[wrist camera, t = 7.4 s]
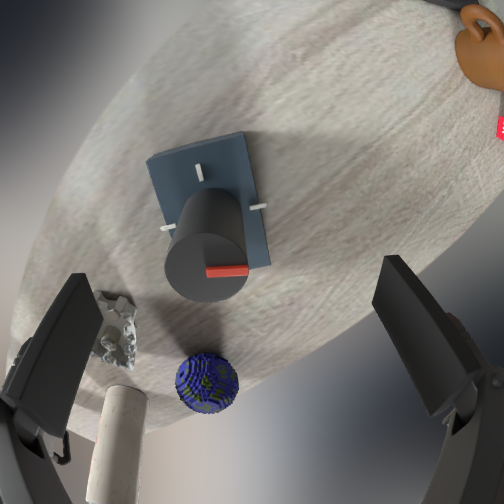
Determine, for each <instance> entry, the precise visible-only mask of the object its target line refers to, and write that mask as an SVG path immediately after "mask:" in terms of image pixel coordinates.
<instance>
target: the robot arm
mask: <svg viewBox="0 0 504 504" xmlns="http://www.w3.org/2000/svg"><path fill="white" fill-rule="evenodd" d="M372 305H373V307H374V309H375V311H376V312H377V314H378V316H379V318H380V319H381V321H382V323H383V325H384V327H385V329H386V330H387V332H388V334H389V336H390V338H391V340H392V342H393V344H394V345H395V347H396V349H397V351H398V353H399V355H400V357H401V359H402V361H403V363H404V365H405V367H406V368H407V371H408V373H409V375H410V377H411V379H412V381H413V383H414V385H415V387H416V389H417V392H418V394H419V396H420V398H421V400H422V402H423V405H424V407H425V409H426V411H427V414H428V416H429V418H430V417H433V416H435V415H437V414H440V413H442V412H444V411H445V410H446V409H447V408H448V407H449V406H450V405H451V404H452V403H453V405H454V407H455V408H454V409H453V410H452V411H451V412H450V414H448V416H446V417H445V418H444V420H443V422H442V424H445V423H446V422H447V420H449V419H450V421H449V423H448V424H447V425H448V429H447V433H446V437H445V440H444V444H443V447H442V450H441V453H440V457H439V460H438V463H437V466H436V469H435V471H434V474H433V477H432V480H431V482H430V485H429V487H428V490H427V492H426V494H425V497H424V499H423V501H422V504H504V369H503V368H501V367H500V366H492V367H491V365H490V364H489V363H488V361H487V360H486V358H485V356H484V355H483V354H482V352H481V350H480V349H479V347H478V346H477V345H476V343H475V341H474V340H473V339H472V338H471V336H470V334H469V333H468V332H467V331H466V329H465V327H464V326H463V325H462V323H461V322H460V320H458V319H457V318H456V317H455V316H454V315H452V314H451V313H445V312H444V311H443V309H442V308H441V307H440V305H439V304H438V303H437V301H436V300H435V299H434V297H433V296H432V295H431V294H430V292H429V291H428V290H427V288H426V287H425V286H424V285H423V284H422V282H421V281H420V280H419V279H418V277H417V276H416V275H415V274H414V273H413V271H412V270H411V269H410V268H409V267H408V265H407V264H406V263H405V262H404V261H403V260H402V258H401V257H400V256H399V255H388V256H384V260H383V264H382V268H381V272H380V275H379V279H378V283H377V286H376V290H375V293H374V297H373V300H372ZM103 321H104V318H103V315H102V313H101V311H100V309H99V306H98V304H97V302H96V299H95V297H94V294H93V292H92V290H91V287H90V284H89V282H88V279H87V277H86V274H85V273H73V274H71V276H70V277H69V279H68V280H67V282H66V283H65V285H64V286H63V288H62V289H61V291H60V292H59V294H58V295H57V297H56V298H55V300H54V302H53V303H52V305H51V306H50V308H49V310H48V311H47V313H46V315H45V316H44V318H43V320H42V321H41V323H40V325H39V327H38V328H37V330H36V332H35V334H34V336H33V337H30V338H29V339H28V340H27V341H26V342H25V343H24V344H23V345H22V347H21V349H20V351H19V353H18V355H17V358H15V360H14V362H13V366H11V368H10V371H9V373H8V375H7V377H6V379H5V381H4V383H3V386H2V388H1V390H0V504H72V502H71V500H70V498H69V496H68V494H67V493H66V491H65V489H64V487H63V485H62V483H61V481H60V479H59V476H58V474H57V472H56V470H55V468H54V465H53V463H52V461H51V458H50V456H49V453H48V451H47V448H46V446H45V443H44V441H43V438H42V436H41V435H40V433H38V432H39V428H41V429H42V430H44V431H45V432H46V433H47V434H49V435H52V436H55V437H58V438H62V439H63V437H64V434H65V430H66V426H67V423H68V419H69V416H70V412H71V409H72V405H73V402H74V399H75V396H76V393H77V390H78V387H79V384H80V381H81V378H82V375H83V372H84V369H85V367H86V364H87V361H88V358H89V356H90V353H91V350H92V348H93V345H94V343H95V340H96V338H97V335H98V333H99V330H100V328H101V325H102V323H103Z"/></svg>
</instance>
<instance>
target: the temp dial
mask: <svg viewBox="0 0 504 504" xmlns="http://www.w3.org/2000/svg"><path fill="white" fill-rule="evenodd" d="M164 268H165V274H166V277H167V279H168V281H169V283H170V285H171V286H172V287H173V288H174V290H176V291H177V292H178V293H179V294H180V295H182V296H183V297H185V298H187V299H190V300H192V301H195V302H200V303H216V302H221V301H224V300H227V299H229V298H231V297H232V296H234V295H235V294H237V293H238V292H239V291H240V290H241V289H242V287H243V286H244V284H245V283H246V280H247V278H248V275H249V264H248V256H247V249H246V241H245V233H244V225H243V217H242V210H241V207H240V205H239V203H238V201H237V200H236V199H235V198H234V197H233V196H232V195H231V194H230V193H228V192H226V191H224V190H221V189H216V188H207V189H203V190H200V191H198V192H196V193H194V194H193V195H192V196H191V197H190V198H189V199H188V200H187V201H186V203H185V205H184V207H183V210H182V213H181V215H180V218H179V221H178V224H177V226H176V229H175V232H174V235H173V238H172V240H171V243H170V246H169V249H168V252H167V255H166V258H165V264H164Z"/></svg>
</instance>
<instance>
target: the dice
mask: <svg viewBox="0 0 504 504" xmlns="http://www.w3.org/2000/svg"><path fill="white" fill-rule="evenodd" d="M496 137H498V138H500V139H501V140H503V141H504V117H501V116H499V122H498V129H497V136H496Z"/></svg>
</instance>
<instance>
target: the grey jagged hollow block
mask: <svg viewBox="0 0 504 504" xmlns="http://www.w3.org/2000/svg"><path fill="white" fill-rule="evenodd" d="M93 294H94V297H95V299H96V302H97V304H98V306H99V309H100V311H101V313H102V315H103V318H104V321H103V323H102V325H101V328H100V330H99V333H98V335H97V338H96V340H95V343H94V345H93V348H92V350H91V353H90V356H91V357H94V356H97V357H99V358H100V361H101V362H103V361H106V362H108V363H109V364H113V365H115V366H117V367H119V366H122V367H123V368H125V369H127V370H129V371H131V372H132V370H133V367H134V361H135V353H136V349H137V343H136V332H137V326H135V325H134V324H133V322H134V319H135V316H136V312H137V309H136V307H134V306H133V305H132V304H130V303H129V301H128V300H127V298H125V297H122V296H119V298H118V300H116V301H111V300H107V299H106V298H105V297H104V296H103V294H102V292H101V291H97V290H94V292H93Z"/></svg>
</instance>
